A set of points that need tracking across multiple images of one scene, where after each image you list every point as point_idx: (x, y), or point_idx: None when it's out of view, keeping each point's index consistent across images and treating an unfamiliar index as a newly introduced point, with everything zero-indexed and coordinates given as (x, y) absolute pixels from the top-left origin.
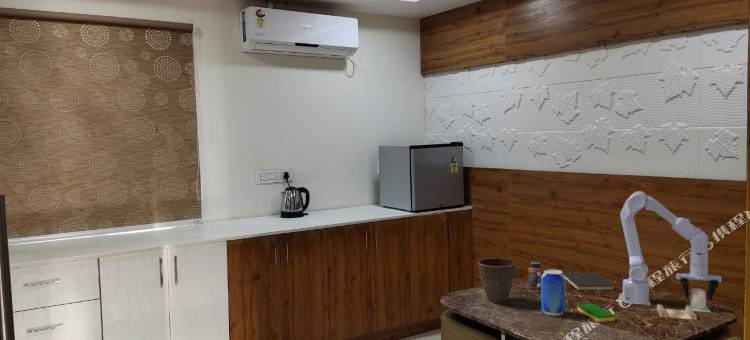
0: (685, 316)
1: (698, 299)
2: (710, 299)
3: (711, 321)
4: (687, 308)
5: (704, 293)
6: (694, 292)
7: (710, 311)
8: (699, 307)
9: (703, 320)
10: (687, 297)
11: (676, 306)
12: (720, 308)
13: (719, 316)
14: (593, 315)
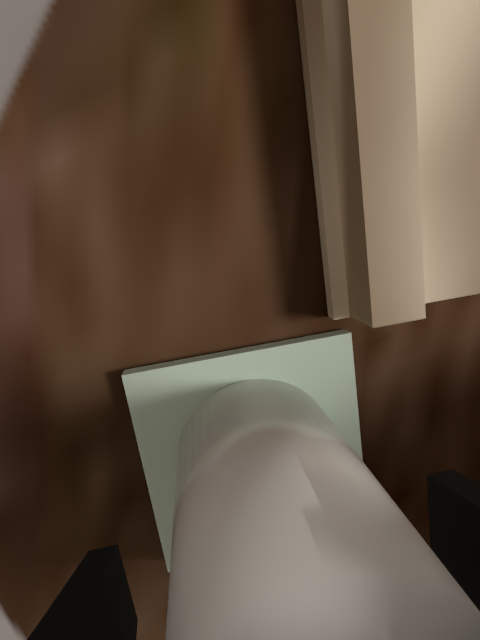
0: (429, 33)
1: (297, 451)
2: (98, 560)
3: (125, 4)
4: (415, 230)
5: (203, 609)
6: (430, 566)
7: (129, 398)
8: (254, 392)
9: (220, 12)
10: (458, 482)
11: (448, 461)
12: (30, 602)
13: (32, 289)
14: None
